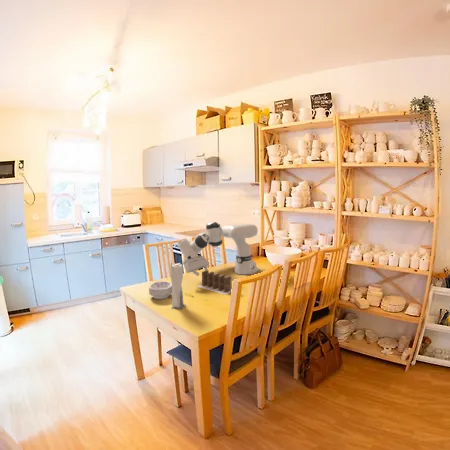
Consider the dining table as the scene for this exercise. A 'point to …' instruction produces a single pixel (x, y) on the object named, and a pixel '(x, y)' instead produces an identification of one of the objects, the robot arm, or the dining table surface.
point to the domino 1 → (204, 278)
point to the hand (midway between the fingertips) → (202, 273)
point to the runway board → (214, 289)
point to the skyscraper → (177, 286)
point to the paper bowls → (160, 289)
